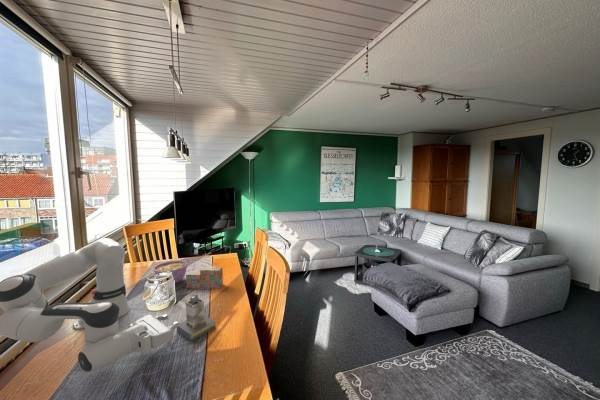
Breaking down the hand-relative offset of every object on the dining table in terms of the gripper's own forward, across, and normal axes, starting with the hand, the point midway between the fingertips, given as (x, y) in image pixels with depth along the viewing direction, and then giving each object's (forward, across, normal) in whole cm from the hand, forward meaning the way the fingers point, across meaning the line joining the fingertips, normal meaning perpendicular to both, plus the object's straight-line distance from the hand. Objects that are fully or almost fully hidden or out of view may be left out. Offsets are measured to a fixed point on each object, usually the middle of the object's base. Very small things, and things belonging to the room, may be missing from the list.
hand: (172, 319), depth 105 cm
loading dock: (+10, 0, -10) cm, 14 cm away
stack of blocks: (+39, -37, -10) cm, 54 cm away
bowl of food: (+29, -61, -10) cm, 68 cm away
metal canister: (+10, 0, +3) cm, 11 cm away
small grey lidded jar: (+10, 0, -7) cm, 12 cm away
